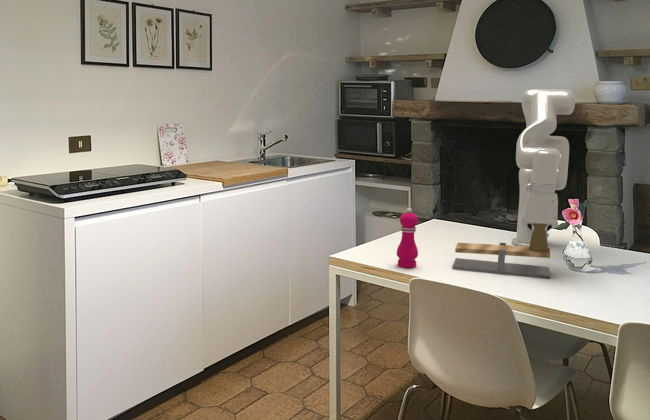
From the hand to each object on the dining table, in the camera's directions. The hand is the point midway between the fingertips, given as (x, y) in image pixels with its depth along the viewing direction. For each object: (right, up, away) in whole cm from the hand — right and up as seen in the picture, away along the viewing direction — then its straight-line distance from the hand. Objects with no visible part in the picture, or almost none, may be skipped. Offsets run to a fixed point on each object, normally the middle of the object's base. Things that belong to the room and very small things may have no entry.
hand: (537, 243), depth 202 cm
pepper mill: (-42, -8, +8) cm, 43 cm away
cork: (0, -2, 0) cm, 2 cm away
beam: (-11, -3, +4) cm, 12 cm away
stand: (-11, -9, +5) cm, 15 cm away
